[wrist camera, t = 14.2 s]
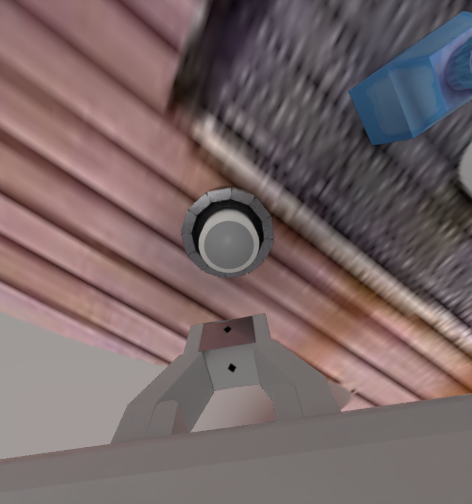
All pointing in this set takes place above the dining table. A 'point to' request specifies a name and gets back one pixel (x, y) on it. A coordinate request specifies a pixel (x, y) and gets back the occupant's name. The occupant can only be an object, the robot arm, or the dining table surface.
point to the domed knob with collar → (219, 199)
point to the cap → (228, 240)
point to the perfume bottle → (418, 84)
